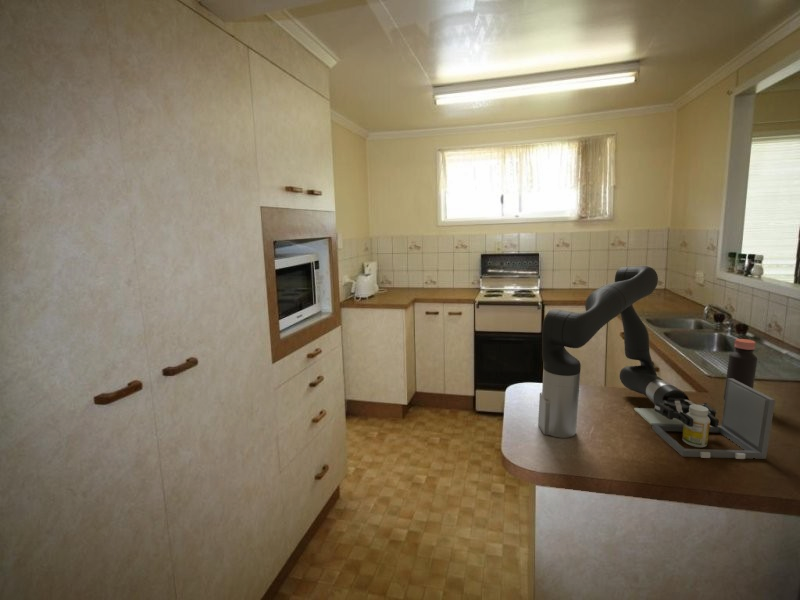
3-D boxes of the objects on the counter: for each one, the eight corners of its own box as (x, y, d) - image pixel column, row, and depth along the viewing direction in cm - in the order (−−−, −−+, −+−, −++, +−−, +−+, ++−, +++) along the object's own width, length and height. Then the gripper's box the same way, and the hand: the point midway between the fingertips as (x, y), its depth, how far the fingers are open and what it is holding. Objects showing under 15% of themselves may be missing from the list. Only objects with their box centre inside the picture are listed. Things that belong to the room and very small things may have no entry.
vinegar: (740, 398, 136) (749, 338, 132) (756, 406, 129) (765, 344, 126) (718, 397, 137) (726, 337, 133) (732, 406, 130) (741, 343, 126)
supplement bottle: (692, 448, 105) (697, 412, 104) (677, 438, 111) (680, 403, 109) (712, 447, 106) (717, 411, 104) (696, 436, 111) (700, 402, 109)
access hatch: (683, 457, 101) (691, 399, 99) (652, 429, 116) (657, 377, 113) (767, 460, 100) (777, 400, 97) (725, 430, 114) (732, 378, 112)
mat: (651, 424, 118) (651, 423, 118) (633, 409, 128) (634, 408, 128) (695, 425, 117) (695, 424, 117) (674, 410, 127) (675, 408, 127)
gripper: (641, 383, 121) (675, 408, 104) (693, 384, 120) (736, 410, 103) (639, 408, 122) (672, 436, 106) (690, 409, 121) (732, 438, 105)
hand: (704, 423), depth 105 cm, fingers closed on supplement bottle, 5 cm apart
